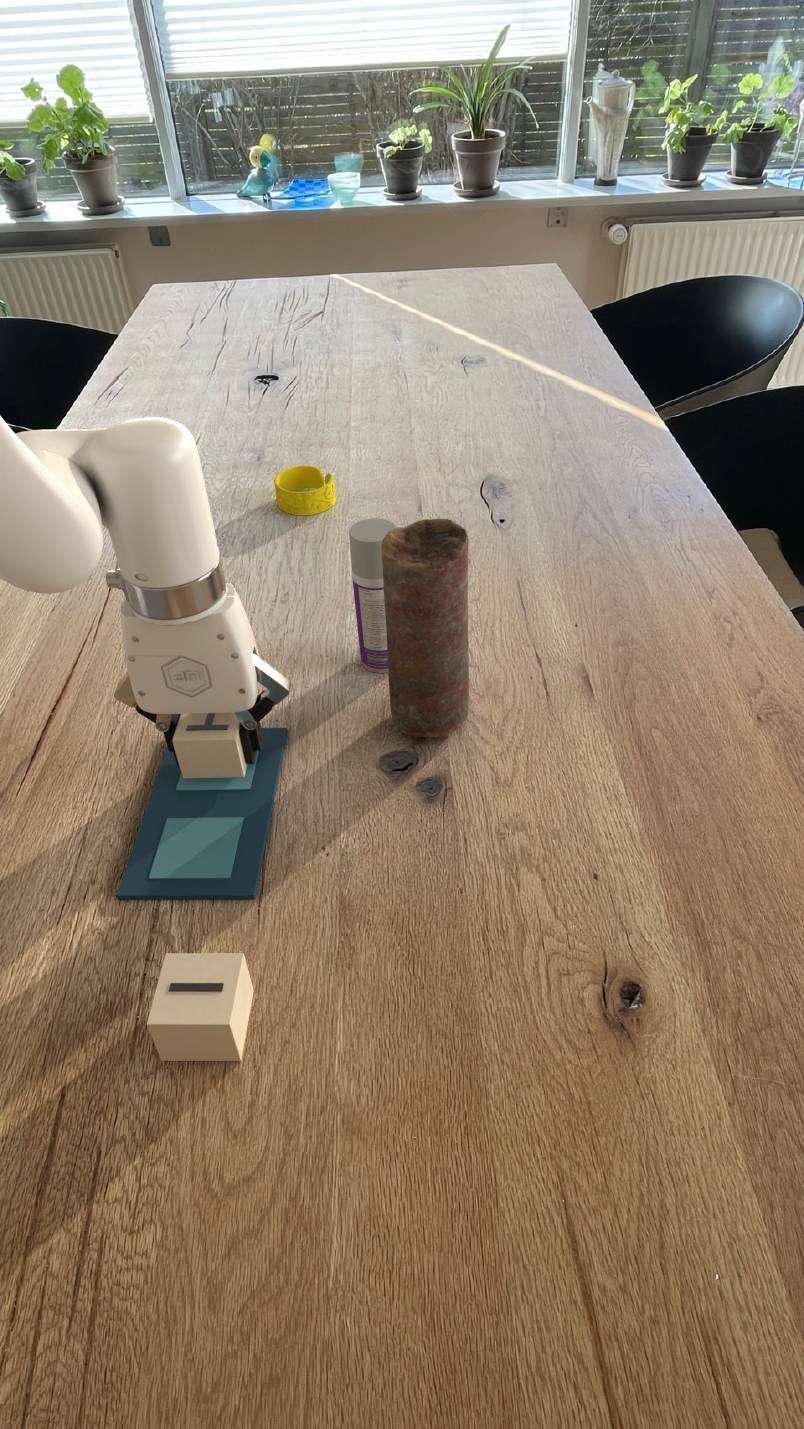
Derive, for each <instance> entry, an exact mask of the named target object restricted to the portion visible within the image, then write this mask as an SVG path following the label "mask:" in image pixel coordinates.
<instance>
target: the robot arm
mask: <svg viewBox="0 0 804 1429" xmlns="http://www.w3.org/2000/svg"><path fill="white" fill-rule="evenodd" d="M204 478H205V477H204V473H203V469H202V464H201V459H200V455H199V450H198V446H197V443H196V441H195V438H194V436H193V434H192V433H191V431H190V430H188V428H187V427H186V426H185V425H183V424H182V423H180V422H177V421H175V420H173V419H170V418H165V417H140V418H139V417H138V418H134V419H128V420H125V421H122V422H119V423H116V424H113V425H111V426H108V427H104V428H103V427H102V428H84V429H83V428H82V429H81V428H78V429H32V430H26V431H20V432H17V433H15V432H14V431H13V430H12V428H11V427H10V425H8V424H7V422H6V421H5V420H4V419H3V418H2V416H1V415H0V580H2V581H3V582H6V583H7V584H10V585H11V586H13V587H15V588H17V589H21V590H23V591H26V592H30V593H34V594H35V593H36V594H43V595H44V594H45V595H51V594H59V593H64V592H67V591H69V590H73V589H75V588H77V587H78V586H80V585H81V584H83V583H84V582H85V581H86V580H88V579H89V578H90V577H91V576H92V575H93V573H94V572H95V570H96V569H97V568H98V565H99V563H100V561H101V559H102V557H103V556H102V555H103V550H104V545H105V534H104V527H105V528H106V529H107V530H108V534H109V537H110V540H111V544H112V547H113V551H114V554H115V557H116V561H117V564H118V568H116V570H108V571H107V572H106V573H105V582H106V587H107V588H108V589H117V590H118V591H119V590H121V591H122V592H123V594H124V597H125V598H124V601H123V602H122V603H121V606H120V623H121V624H120V625H121V635H122V643H123V650H124V656H125V661H126V667H127V672H126V673H125V674H124V676H123V677H122V678H121V680H120V681H119V682H118V684H117V686H116V688H115V690H114V693H113V697H114V698H115V699H116V700H117V701H119V702H120V703H123V704H125V705H126V706H128V707H130V708H135V712H137V713H138V714H139V715H141V716H142V717H144V718H145V719H147V720H149V721H151V722H152V723H154V724H155V728H156V730H157V731H158V732H161V733H163V737H164V739H165V743H166V748H167V747H168V750H169V752H173V753H174V757H175V760H176V764H177V766H179V762H178V759H177V755H176V752H175V748H174V745H173V742H172V740H173V737H174V734H175V731H176V728H177V725H178V722H179V719H180V716H181V714H199V713H235V715H236V716H237V718H238V719H239V721H240V722H241V726H240V730H239V736H240V740H241V744H242V749H243V753H244V757H245V762H246V763H247V764H254V761H255V757H256V753H257V750H262V747H263V734H262V730H261V728H262V726H261V721H262V720H263V719H264V718H265V717H266V716H267V715H269V714H270V713H271V712H272V711H273V708H274V707H275V706H276V705H279V704H280V703H281V702H283V701H284V700H285V699H286V698H287V697H288V696H289V695H290V692H291V686H292V681H291V680H290V679H288V678H287V677H286V676H284V675H283V674H282V673H280V672H279V671H278V670H276V669H275V668H273V667H272V666H271V665H270V664H268V663H267V662H266V661H264V660H263V659H262V658H261V657H260V654H259V648H258V646H257V643H256V639H255V635H254V632H253V629H252V626H251V624H250V620H249V617H248V614H247V613H246V610H245V608H244V605H243V603H242V601H241V598H240V596H239V594H238V592H237V590H236V588H235V587H234V585H233V584H232V583H231V582H226V576H225V573H224V567H223V562H222V559H221V554H220V548H219V545H218V540H217V535H216V531H215V525H214V521H213V516H212V511H211V507H210V501H209V497H208V493H207V488H206V483H205V479H204ZM258 683H259V684H260V685H262V686H263V687H264V688H266V689H264V690H262V691H261V692H260V693H259V692H258V691H259V690H258V687H259V686H258ZM258 693H259V694H258Z"/></svg>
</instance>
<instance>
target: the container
mask: <svg viewBox="0 0 804 1429" xmlns="http://www.w3.org/2000/svg"><path fill="white" fill-rule="evenodd" d="M394 528H397V526H396V524H395V523H394V522H392V521H391V520H388V519H385V518H379V517H377V518H375V517H374V518H373V517H372V518H366V519H362V520H359V521H357V522H355V523H354V524H352V525H351V526H350V527H349V530H348V538H349V550H350V564H351V578H352V579H351V580H352V589H353V598H354V607H355V618H356V627H357V637H358V646H359V654H360V656H359V657H360V663H361V665H362V667H363V668H365V669H366V670H367V671H369V672H372V673H379V674H387V673H389V671H388V652H387V629H386V616H385V603H384V585H383V567H382V552H381V546H382V540H383V538H384V537H385V536H386V534H387V533H388V532H389V531H391V530H393V529H394Z"/></svg>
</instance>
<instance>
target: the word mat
mask: <svg viewBox="0 0 804 1429" xmlns="http://www.w3.org/2000/svg"><path fill="white" fill-rule="evenodd" d="M261 730H262V734H263V747H262V750H257V753H256V757H255V761H254V764H247V768H246V772H245V777H231V778H183V776H182V773H181V769H180V766H177V764H176V760H175V757H174V753H173V752H169V750H168V747H167V746H166V748H165V751H164V754H163V757H162V760H161V763H160V766H159V769H158V772H157V774H156V778H155V781H154V784H153V786H152V789H151V792H150V795H149V799H148V801H147V804H146V808H145V811H144V814H143V817H142V818H141V823H140V825H139V828H138V831H137V834H136V837H135V840H134V843H133V846H132V849H131V852H130V855H129V858H128V860H127V864H126V866H125V869H124V873H123V876H122V879H121V882H120V884H119V888H118V889H117V890H118V891H117V894H116V898H117V900H118V901H128V900H129V901H131V900H132V901H133V900H136V901H137V900H138V901H139V900H144V901H147V900H150V901H152V900H155V901H156V900H255V899H256V895H257V890H258V884H259V880H260V875H261V869H262V864H263V859H264V855H265V848H266V843H267V838H268V833H269V828H270V825H271V824H270V823H271V819H272V814H273V812H272V811H273V808H274V803H275V798H276V792H277V788H278V783H279V778H280V773H281V772H280V771H281V767H282V762H283V757H284V752H285V747H286V742H287V737H288V727H261Z"/></svg>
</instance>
